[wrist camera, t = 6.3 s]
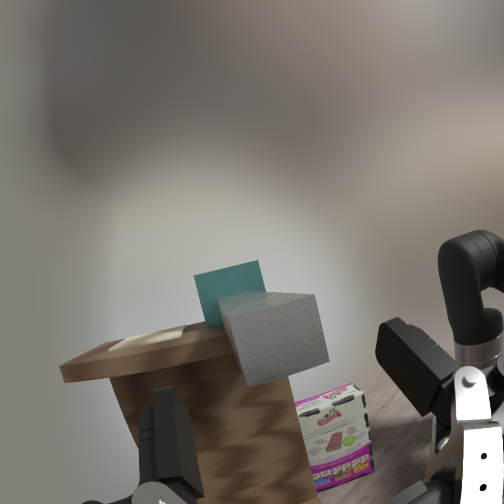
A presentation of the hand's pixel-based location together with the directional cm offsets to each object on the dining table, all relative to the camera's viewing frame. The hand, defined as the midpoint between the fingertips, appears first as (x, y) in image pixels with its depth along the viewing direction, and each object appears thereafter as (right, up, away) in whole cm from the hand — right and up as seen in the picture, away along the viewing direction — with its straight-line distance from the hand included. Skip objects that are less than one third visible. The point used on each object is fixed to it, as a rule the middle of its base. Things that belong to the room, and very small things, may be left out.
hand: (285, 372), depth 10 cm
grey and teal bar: (-2, -1, +11) cm, 11 cm away
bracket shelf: (0, -34, +13) cm, 37 cm away
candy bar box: (+13, -32, +25) cm, 43 cm away
